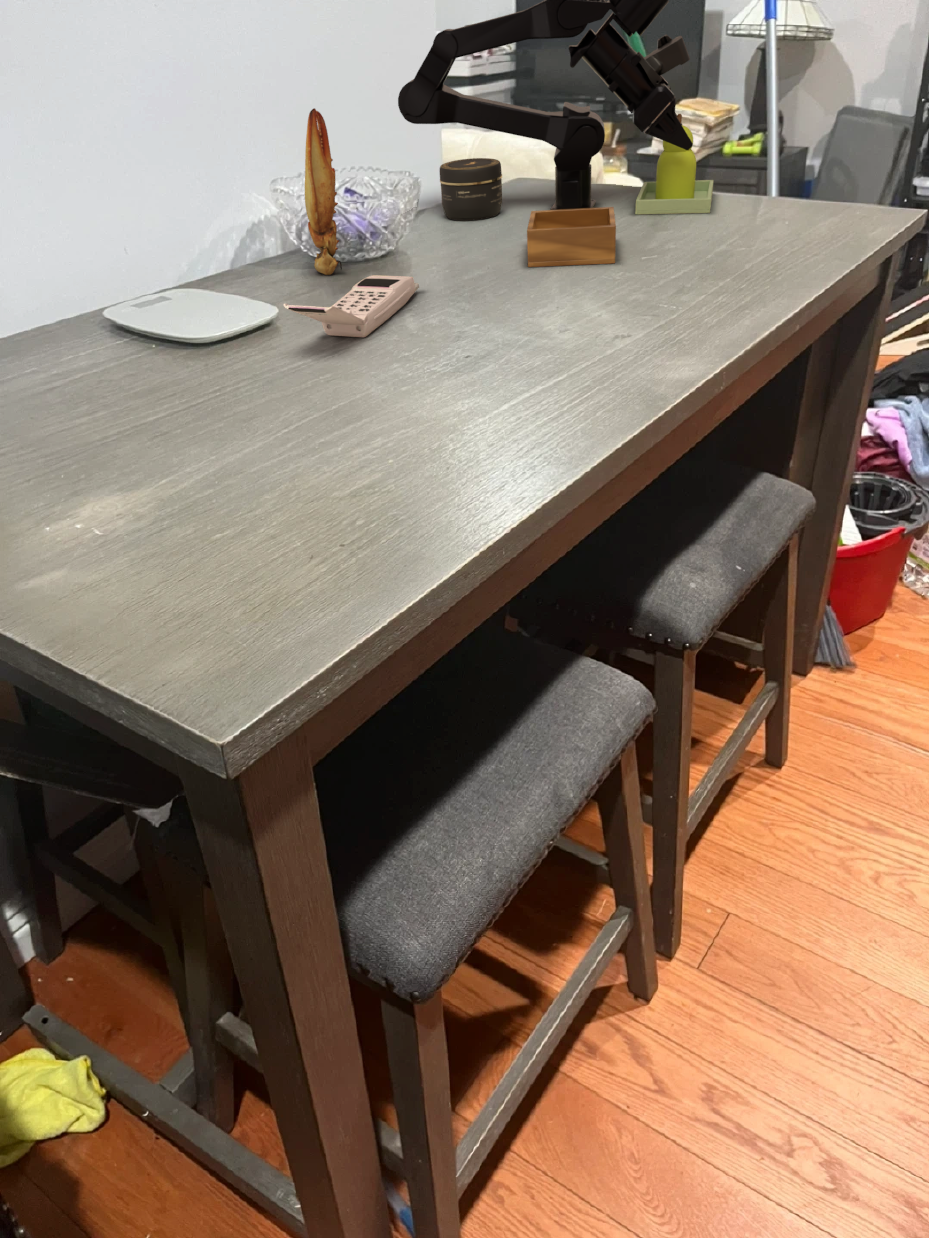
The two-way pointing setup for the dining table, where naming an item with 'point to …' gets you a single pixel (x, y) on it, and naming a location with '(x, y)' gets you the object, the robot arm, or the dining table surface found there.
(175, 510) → the dining table surface
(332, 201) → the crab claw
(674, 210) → the tray
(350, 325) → the mobile phone
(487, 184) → the jar
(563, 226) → the wooden box
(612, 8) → the robot arm
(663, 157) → the pear
